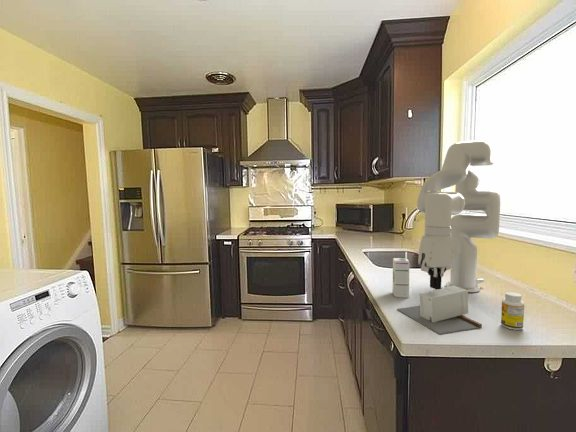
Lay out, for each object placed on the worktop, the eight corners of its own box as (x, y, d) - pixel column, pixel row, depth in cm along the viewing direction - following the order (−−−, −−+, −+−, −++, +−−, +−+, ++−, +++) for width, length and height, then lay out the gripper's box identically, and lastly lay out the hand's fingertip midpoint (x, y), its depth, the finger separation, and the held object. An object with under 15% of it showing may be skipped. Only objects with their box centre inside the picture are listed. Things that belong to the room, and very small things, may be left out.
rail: (433, 305, 114) (433, 301, 114) (481, 327, 95) (481, 324, 95) (431, 305, 114) (431, 302, 114) (479, 328, 95) (479, 324, 95)
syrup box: (409, 298, 122) (410, 261, 121) (393, 297, 123) (394, 260, 122) (406, 293, 127) (407, 258, 126) (391, 292, 129) (392, 257, 127)
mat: (430, 305, 114) (430, 304, 114) (477, 328, 95) (477, 327, 95) (396, 309, 110) (396, 308, 110) (439, 334, 91) (439, 333, 91)
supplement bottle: (501, 321, 100) (503, 290, 99) (523, 326, 96) (525, 293, 95) (499, 327, 95) (501, 294, 95) (522, 332, 92) (524, 298, 91)
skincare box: (454, 285, 107) (418, 291, 103) (469, 290, 101) (432, 296, 97) (454, 308, 108) (418, 315, 103) (469, 315, 102) (432, 323, 98)
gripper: (447, 229, 106) (445, 283, 107) (409, 231, 101) (408, 286, 103) (465, 232, 98) (463, 289, 100) (426, 234, 94) (424, 294, 96)
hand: (435, 288), depth 101 cm, fingers closed
